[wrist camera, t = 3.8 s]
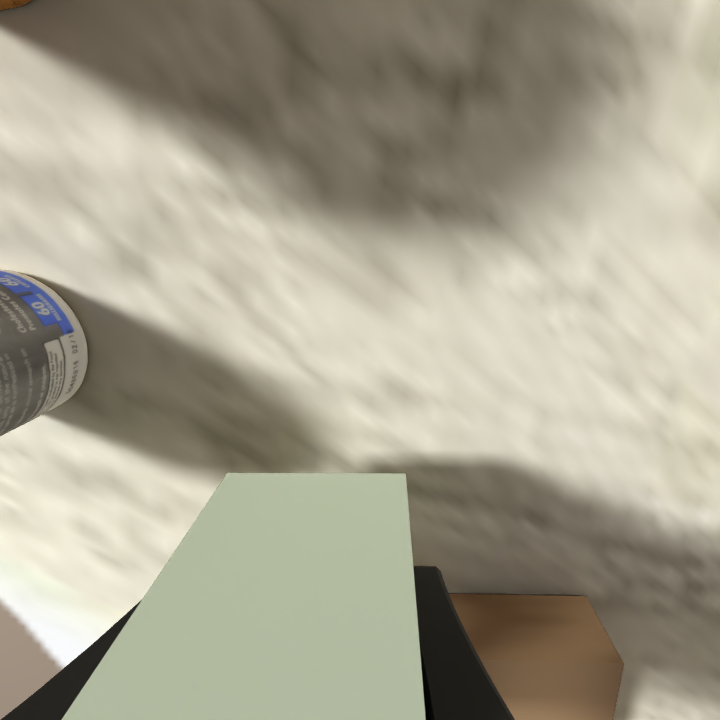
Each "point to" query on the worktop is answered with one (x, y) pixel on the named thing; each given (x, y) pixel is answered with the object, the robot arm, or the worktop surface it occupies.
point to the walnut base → (544, 654)
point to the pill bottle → (36, 350)
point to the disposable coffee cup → (12, 3)
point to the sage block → (275, 610)
